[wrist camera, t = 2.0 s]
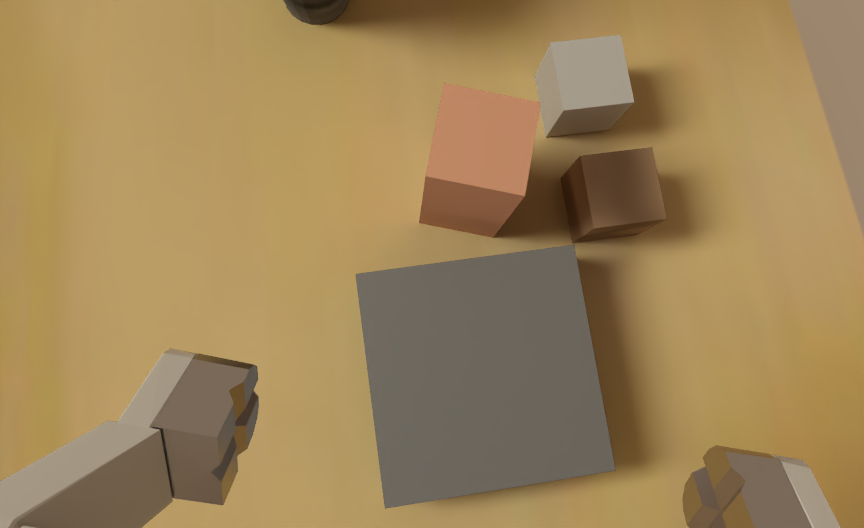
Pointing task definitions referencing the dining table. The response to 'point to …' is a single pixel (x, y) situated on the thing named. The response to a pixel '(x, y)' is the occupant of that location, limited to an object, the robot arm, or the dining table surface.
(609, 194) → the walnut block
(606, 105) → the grey plastic block
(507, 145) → the terracotta block
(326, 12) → the beverage cup
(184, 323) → the dining table surface
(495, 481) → the block
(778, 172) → the dining table surface
